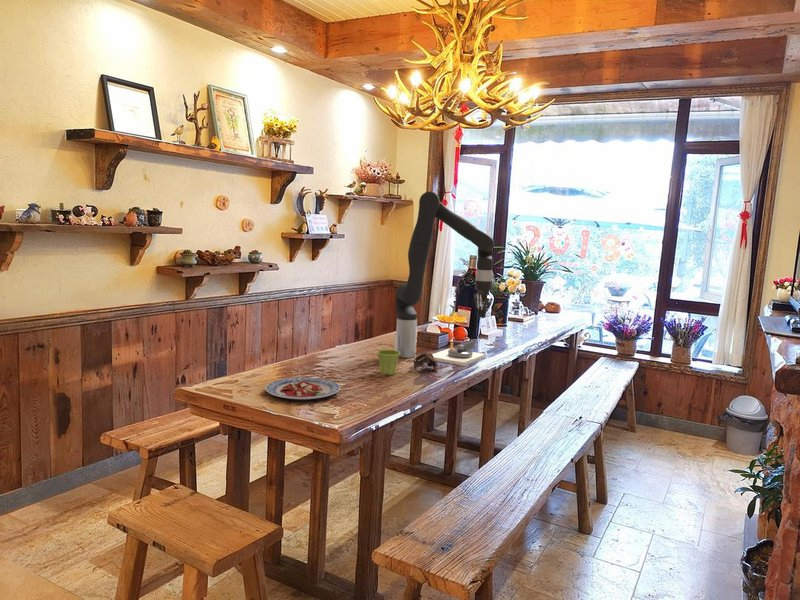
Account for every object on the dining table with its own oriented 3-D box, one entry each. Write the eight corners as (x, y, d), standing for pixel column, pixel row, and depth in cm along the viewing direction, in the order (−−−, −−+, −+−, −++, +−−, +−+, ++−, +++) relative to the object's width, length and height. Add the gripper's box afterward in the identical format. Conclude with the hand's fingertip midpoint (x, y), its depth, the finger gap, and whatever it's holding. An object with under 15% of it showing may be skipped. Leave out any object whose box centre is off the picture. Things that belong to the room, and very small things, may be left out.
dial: (465, 359, 259) (466, 349, 258) (443, 355, 265) (444, 345, 264) (482, 352, 274) (483, 342, 273) (461, 348, 280) (462, 339, 279)
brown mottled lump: (436, 375, 238) (427, 358, 236) (417, 382, 242) (407, 365, 240) (443, 362, 249) (434, 345, 247) (424, 368, 253) (415, 352, 251)
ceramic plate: (251, 390, 206) (251, 382, 206) (311, 379, 224) (311, 371, 224) (293, 409, 188) (293, 400, 187) (354, 395, 206) (354, 387, 205)
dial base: (463, 366, 254) (464, 355, 253) (427, 359, 263) (427, 349, 263) (485, 357, 272) (485, 347, 271) (450, 351, 282) (450, 342, 281)
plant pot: (385, 377, 230) (386, 355, 229) (371, 372, 237) (372, 351, 236) (404, 374, 236) (404, 353, 235) (389, 369, 243) (390, 348, 242)
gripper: (499, 281, 261) (496, 319, 263) (483, 278, 273) (481, 314, 276) (484, 281, 258) (482, 320, 260) (469, 278, 271) (467, 315, 273)
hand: (481, 317), depth 268 cm, fingers closed
